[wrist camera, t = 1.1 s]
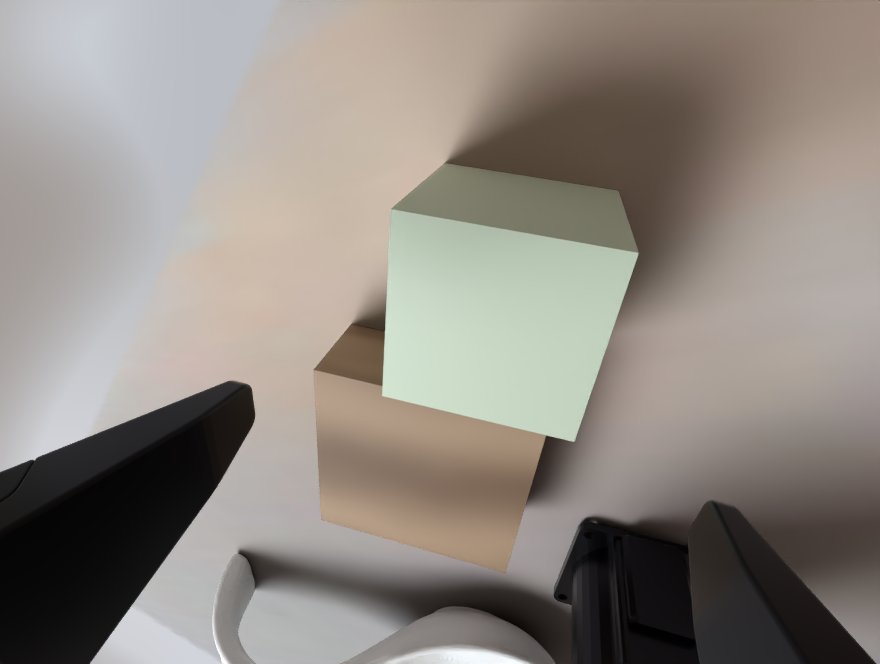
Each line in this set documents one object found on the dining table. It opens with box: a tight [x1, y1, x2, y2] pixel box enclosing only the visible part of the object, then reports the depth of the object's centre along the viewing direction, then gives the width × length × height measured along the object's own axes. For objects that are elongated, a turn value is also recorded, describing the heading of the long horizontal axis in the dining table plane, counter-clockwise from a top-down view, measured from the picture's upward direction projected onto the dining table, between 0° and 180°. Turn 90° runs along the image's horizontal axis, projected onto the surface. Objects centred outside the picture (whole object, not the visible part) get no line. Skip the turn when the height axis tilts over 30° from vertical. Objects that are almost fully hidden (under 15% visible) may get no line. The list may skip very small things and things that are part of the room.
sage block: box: [382, 163, 639, 442], centre depth 15 cm, size 6×6×6 cm
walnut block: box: [314, 324, 546, 573], centre depth 22 cm, size 9×9×4 cm
